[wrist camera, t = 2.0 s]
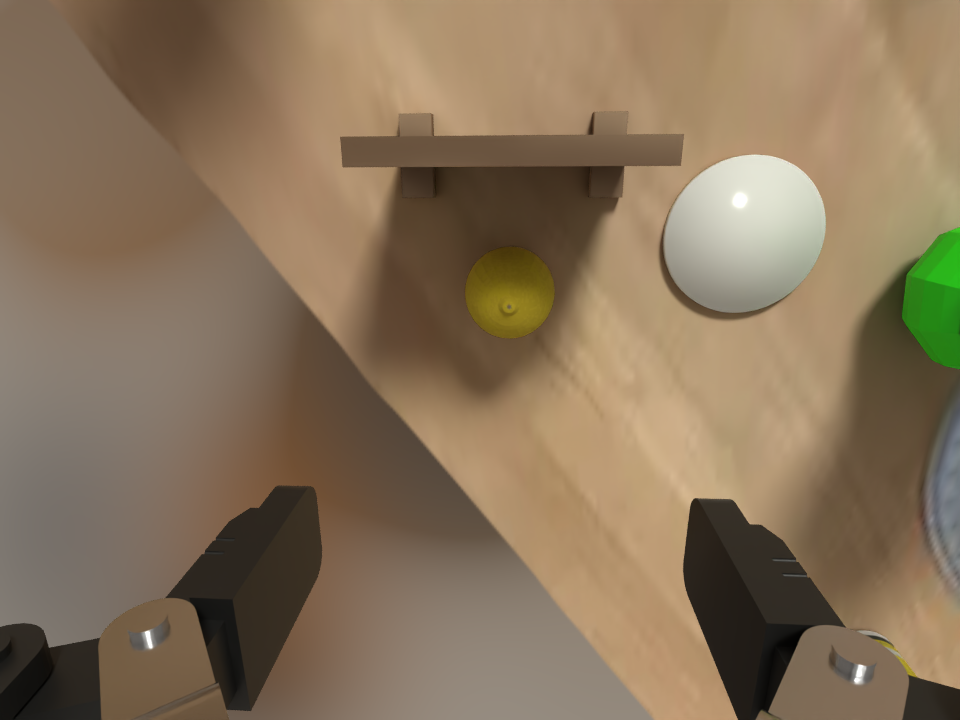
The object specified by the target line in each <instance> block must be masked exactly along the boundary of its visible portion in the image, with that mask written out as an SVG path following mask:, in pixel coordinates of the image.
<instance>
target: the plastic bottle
mask: <svg viewBox="0 0 960 720" xmlns="http://www.w3.org/2000/svg"><path fill="white" fill-rule="evenodd" d="M902 319H903V321H904V323H905V324H906V326H907V327H908V329H909V330H910V331H911V333H912V334H913V335H914V337H915V338H916V339H917V341H918V342H919V344H920V345H921V346H922V348H923V349H924V350H925V352H926V353H927V355H928V356H929V357H930V359H931V360H933V361H935V362H937V363H939V364H941V365H943V366H947V367H951V368H956V369H960V227H959V228H956V229H954V230H951V231H949V232H946V233H944V234H941V235H939V236H938V237H937V239H936V240H935V241H934V242H933V243H932V245H931V246H930V247H929V248H928V249H927V251H926V252H925V253H924V254H923V255H922V257H921V258H920V259H919V260H918V261H917V263H916V264H915V265H914V266H913V267H912V269H911V270H910V271H909V272H908V273H907V276H906V284H905V293H904V301H903V310H902Z"/></svg>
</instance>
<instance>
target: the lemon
mask: <svg viewBox="0 0 960 720" xmlns="http://www.w3.org/2000/svg"><path fill="white" fill-rule="evenodd" d="M554 295H555V292H554V281H553V279H552V276H551V273H550V271H549V269H548V268H547V266H546V265H545V263H544V262H543V261H542V260H541V259H540V258H539V257H538V256H537V255H535V254H534V253H532V252H530V251H528V250H526V249H523V248H519V247H514V246H512V247H501V248H498V249H494V250H491V251H490V252H488V253H487V254H485V255H483V256H482V257H481V258H480V259H479V260H478V261H477V262H476V263H475V264H474V266H473V267H472V269H471V271H470V273H469V275H468V278H467V282H466V286H465V300H466V304H467V308H468V311H469V313H470V314H471V316H472V318H473V320H474V321H475V322H476V323H477V324H478V325H479V326H480V327H481V328H482V329H483V330H484V331H486V332H488V333H489V334H491V335H494V336H497V337H500V338H510V339H512V338H518V337H523V336H525V335H527V334H530V333H532V332H533V331H534V330H536V329H537V328H538V327H540V326H541V325H542V323H543V322H544V321H545V320H546V318H547V317H548V315H549V313H550V311H551V308H552V306H553V301H554Z"/></svg>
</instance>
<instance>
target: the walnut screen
mask: <svg viewBox="0 0 960 720" xmlns="http://www.w3.org/2000/svg"><path fill="white" fill-rule="evenodd" d="M627 123H628V111H619V112H594V113H593V119H592V135H507V136H434V128H433V114H431V113H422V114H399V130H400V136H380V137H340V139H341V152H342V165H343V167H401V174H402V196H403V198H434V197H435V167H511V166H590V176H589V194H588V197H622V193H623V179H624V166H681V159H682V149H683V139H684V134H634V135H627Z"/></svg>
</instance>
